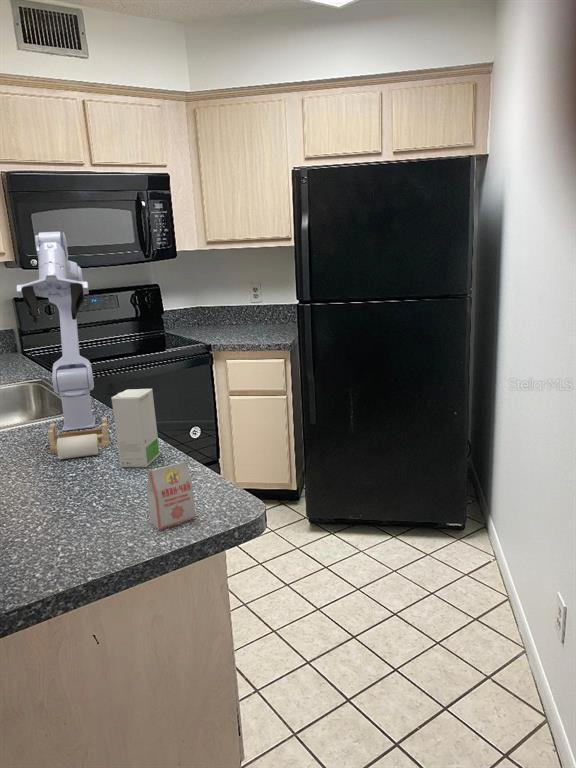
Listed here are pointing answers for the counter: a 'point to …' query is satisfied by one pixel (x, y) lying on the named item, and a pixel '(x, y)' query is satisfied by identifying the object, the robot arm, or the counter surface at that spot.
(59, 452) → the paper roll
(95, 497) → the counter surface
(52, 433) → the holder
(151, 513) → the tea bag
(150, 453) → the skincare box
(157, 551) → the counter surface
